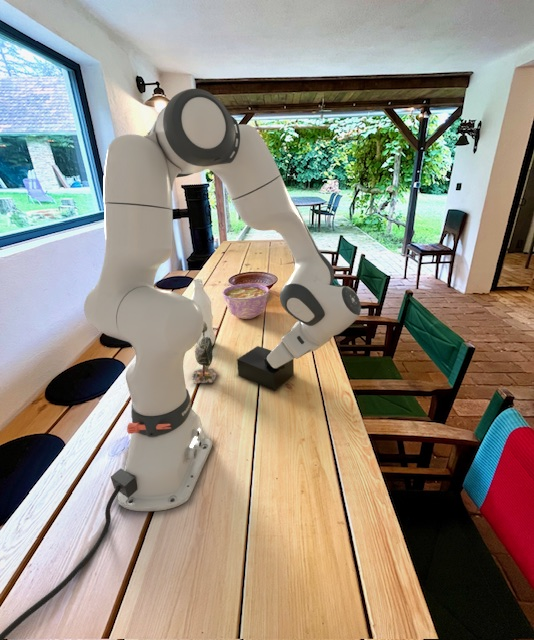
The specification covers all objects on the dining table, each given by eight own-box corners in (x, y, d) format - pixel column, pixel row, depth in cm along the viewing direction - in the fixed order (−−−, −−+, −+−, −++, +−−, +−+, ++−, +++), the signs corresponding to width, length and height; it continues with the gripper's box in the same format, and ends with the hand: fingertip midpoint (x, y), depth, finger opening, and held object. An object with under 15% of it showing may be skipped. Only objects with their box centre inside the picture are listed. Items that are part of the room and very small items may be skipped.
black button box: (295, 375, 99) (295, 353, 95) (276, 392, 92) (275, 368, 88) (258, 361, 107) (257, 340, 104) (238, 375, 100) (236, 353, 97)
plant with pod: (222, 366, 105) (216, 310, 97) (212, 387, 95) (204, 326, 87) (198, 365, 106) (190, 309, 98) (186, 385, 96) (175, 325, 88)
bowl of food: (218, 323, 136) (215, 297, 131) (233, 305, 154) (231, 282, 149) (263, 326, 131) (262, 300, 126) (274, 308, 149) (273, 284, 144)
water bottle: (212, 350, 115) (203, 283, 105) (193, 349, 116) (183, 283, 106) (218, 341, 121) (211, 277, 111) (200, 339, 123) (192, 276, 112)
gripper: (322, 309, 90) (294, 333, 100) (279, 338, 76) (252, 362, 86) (336, 327, 90) (307, 349, 99) (296, 360, 75) (266, 381, 85)
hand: (281, 355), depth 92 cm, fingers closed, pressing on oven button
